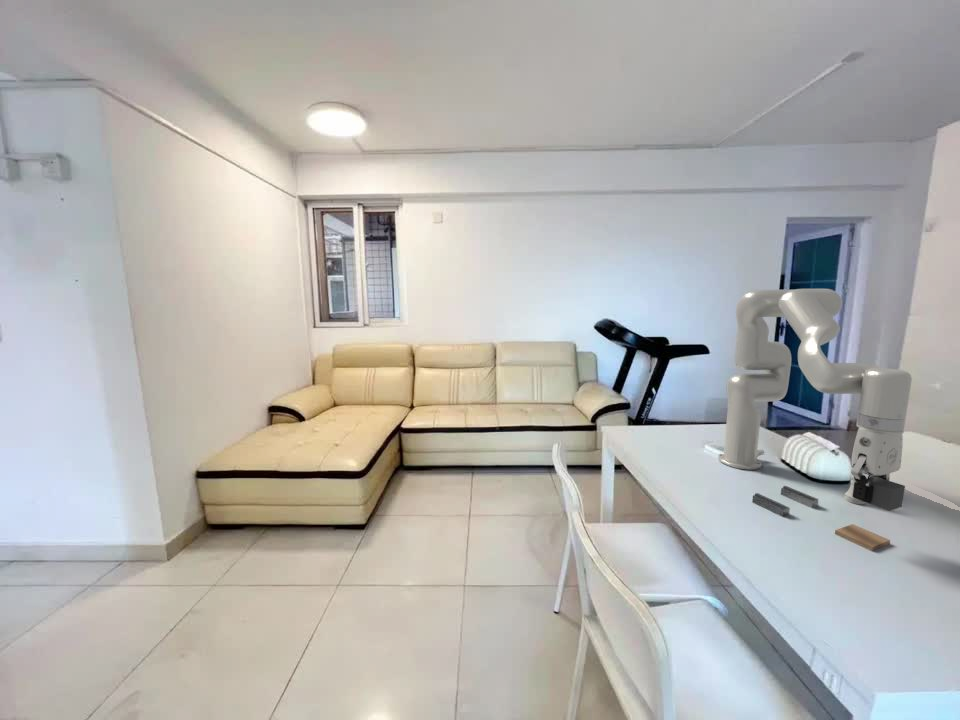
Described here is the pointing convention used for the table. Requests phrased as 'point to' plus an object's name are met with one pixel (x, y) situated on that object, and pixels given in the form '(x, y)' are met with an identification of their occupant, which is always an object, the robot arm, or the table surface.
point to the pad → (862, 537)
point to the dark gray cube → (887, 494)
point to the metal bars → (781, 508)
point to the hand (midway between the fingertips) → (869, 497)
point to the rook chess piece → (849, 494)
